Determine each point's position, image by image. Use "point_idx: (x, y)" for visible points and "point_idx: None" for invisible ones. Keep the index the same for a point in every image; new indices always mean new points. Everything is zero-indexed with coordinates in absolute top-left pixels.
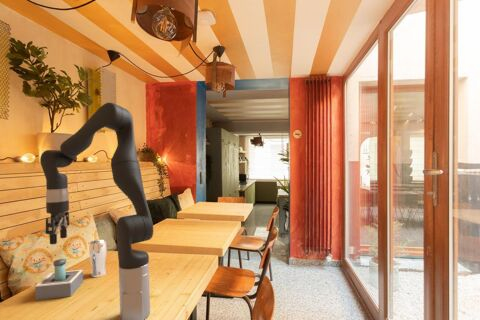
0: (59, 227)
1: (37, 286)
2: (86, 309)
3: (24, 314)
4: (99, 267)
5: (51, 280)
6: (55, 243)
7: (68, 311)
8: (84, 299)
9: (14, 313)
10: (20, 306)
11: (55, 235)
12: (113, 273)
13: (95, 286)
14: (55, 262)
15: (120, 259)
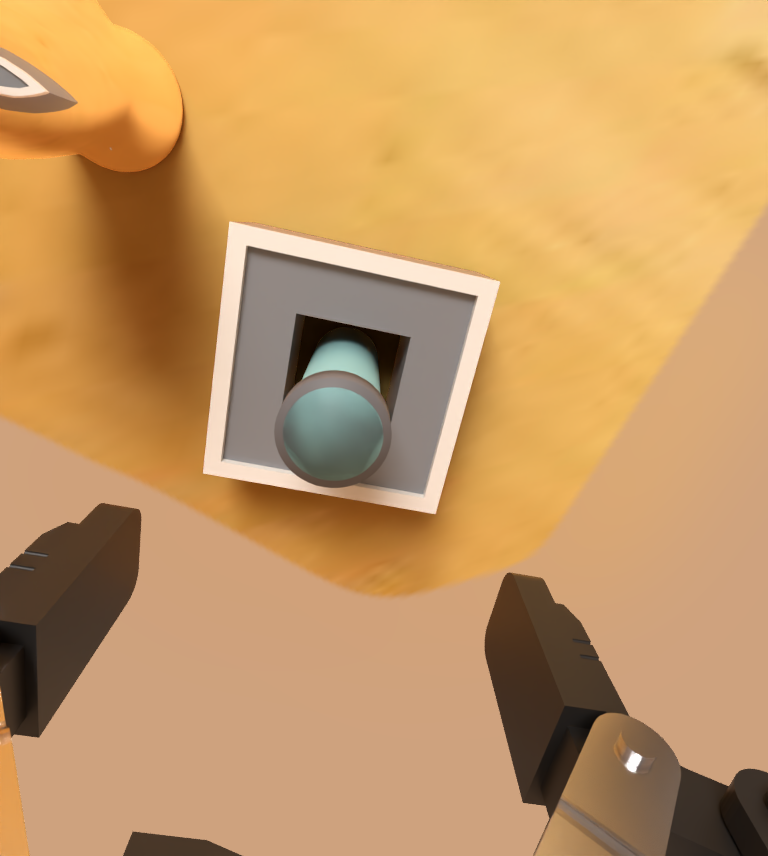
0: (566, 819)
1: (437, 498)
2: (739, 130)
3: (579, 476)
4: (138, 64)
5: None
6: (539, 583)
7: (692, 247)
8: (575, 166)
9: (538, 524)
10: (467, 521)
11: (588, 696)
12: None
13: (379, 106)
14: (371, 464)
15: None
